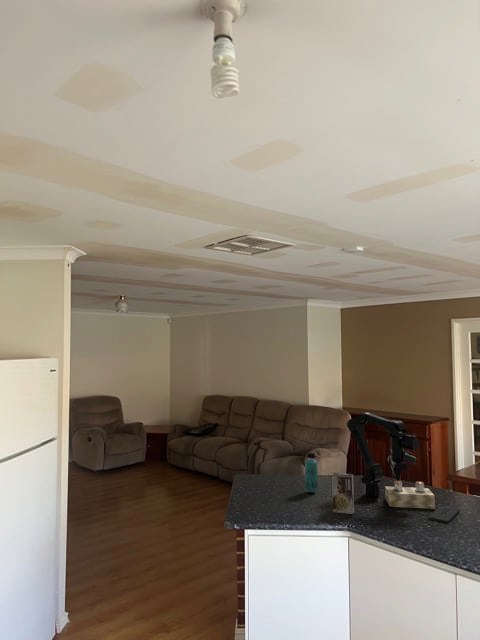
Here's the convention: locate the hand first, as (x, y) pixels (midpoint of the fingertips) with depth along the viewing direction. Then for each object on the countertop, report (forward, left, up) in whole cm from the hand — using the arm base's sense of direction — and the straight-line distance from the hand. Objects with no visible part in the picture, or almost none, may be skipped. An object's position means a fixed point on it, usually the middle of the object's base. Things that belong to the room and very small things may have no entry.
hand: (397, 480), depth 224 cm
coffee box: (-27, -16, -11) cm, 33 cm away
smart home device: (+17, -15, -11) cm, 25 cm away
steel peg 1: (0, 0, -6) cm, 6 cm away
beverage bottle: (-41, +11, -11) cm, 44 cm away
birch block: (+5, 0, -10) cm, 11 cm away
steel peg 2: (+10, 0, -6) cm, 12 cm away
